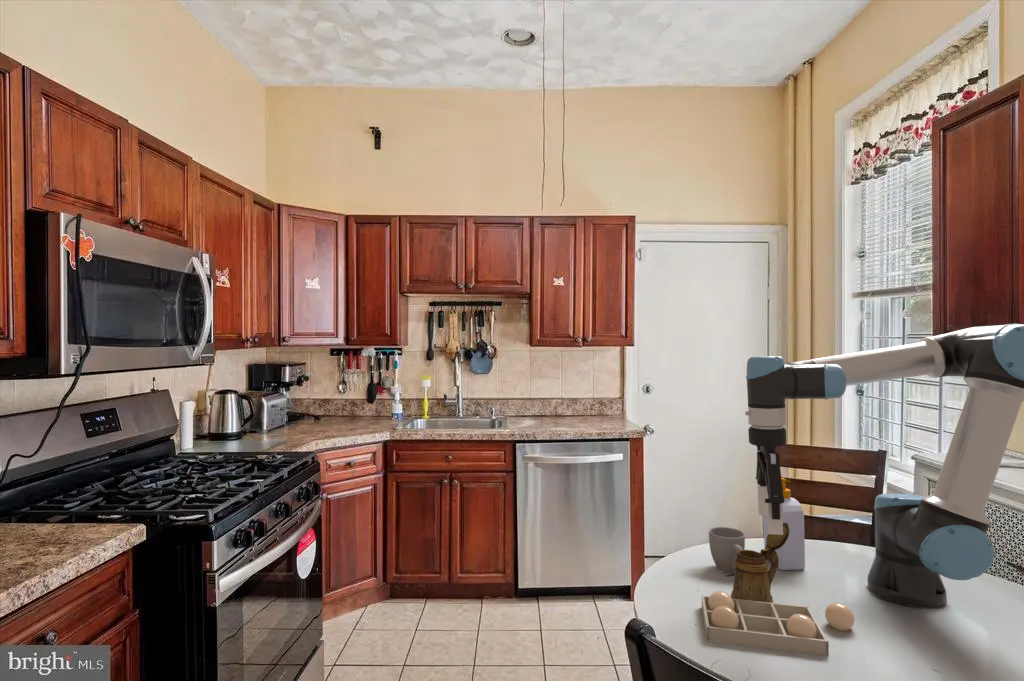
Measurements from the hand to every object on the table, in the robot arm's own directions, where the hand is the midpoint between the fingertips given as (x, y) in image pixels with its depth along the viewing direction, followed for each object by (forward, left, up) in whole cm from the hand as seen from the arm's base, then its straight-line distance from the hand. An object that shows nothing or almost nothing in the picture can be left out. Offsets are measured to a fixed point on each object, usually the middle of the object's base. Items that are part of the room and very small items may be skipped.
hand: (770, 524), depth 121 cm
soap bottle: (-8, -31, -20) cm, 37 cm away
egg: (-12, +4, -20) cm, 23 cm away
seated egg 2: (+11, +12, -19) cm, 25 cm away
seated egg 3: (-3, +12, -19) cm, 23 cm away
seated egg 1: (+11, +5, -19) cm, 22 cm away
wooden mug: (+1, -5, -20) cm, 20 cm away
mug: (+6, -22, -20) cm, 30 cm away
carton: (+4, +9, -20) cm, 22 cm away
